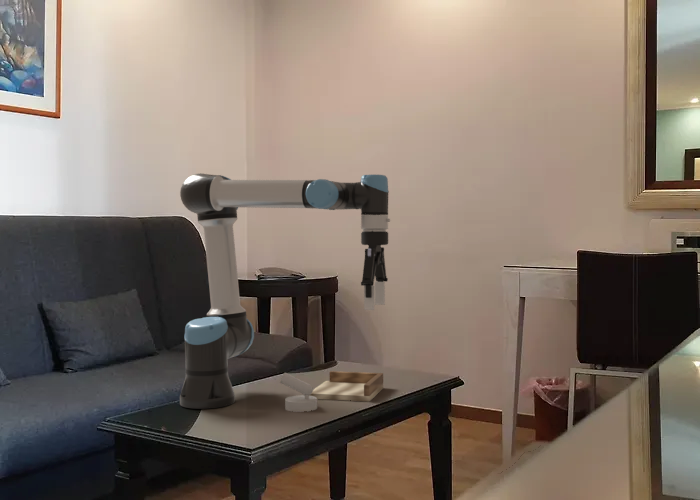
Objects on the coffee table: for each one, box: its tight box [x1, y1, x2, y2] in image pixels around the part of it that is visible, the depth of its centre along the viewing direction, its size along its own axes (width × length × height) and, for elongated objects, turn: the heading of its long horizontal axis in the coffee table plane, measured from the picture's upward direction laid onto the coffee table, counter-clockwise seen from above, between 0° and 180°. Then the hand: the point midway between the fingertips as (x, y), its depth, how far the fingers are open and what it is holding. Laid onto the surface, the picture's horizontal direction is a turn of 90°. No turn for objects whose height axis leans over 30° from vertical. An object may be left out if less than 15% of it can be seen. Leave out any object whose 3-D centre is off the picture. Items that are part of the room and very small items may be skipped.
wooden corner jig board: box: [309, 370, 384, 402], centre depth 221 cm, size 18×18×4 cm
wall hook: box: [279, 372, 318, 413], centre depth 204 cm, size 9×10×10 cm
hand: (374, 307), depth 209 cm, fingers open, 13 cm apart
